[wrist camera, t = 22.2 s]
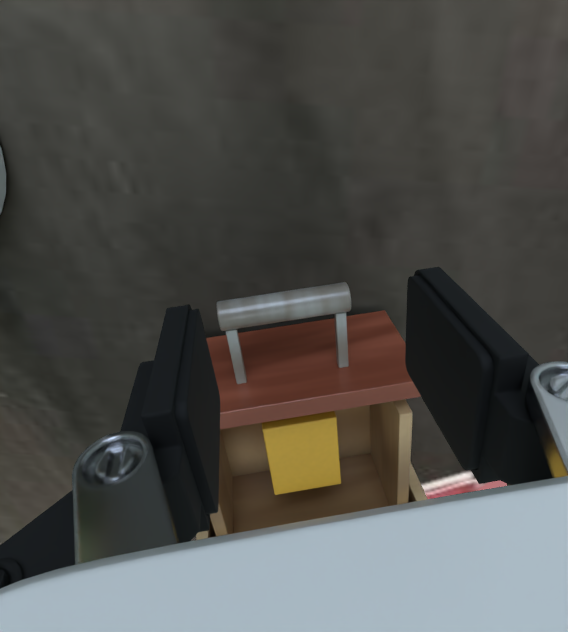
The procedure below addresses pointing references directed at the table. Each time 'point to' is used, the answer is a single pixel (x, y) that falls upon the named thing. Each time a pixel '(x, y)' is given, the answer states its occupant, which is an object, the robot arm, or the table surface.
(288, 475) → the yellow block
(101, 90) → the table surface
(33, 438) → the table surface
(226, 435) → the drawer
